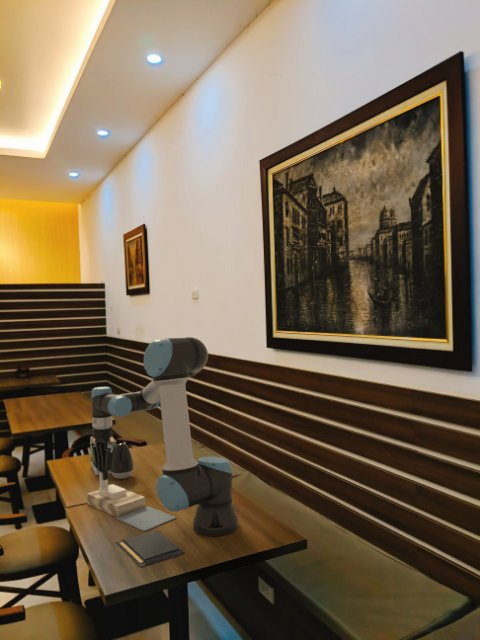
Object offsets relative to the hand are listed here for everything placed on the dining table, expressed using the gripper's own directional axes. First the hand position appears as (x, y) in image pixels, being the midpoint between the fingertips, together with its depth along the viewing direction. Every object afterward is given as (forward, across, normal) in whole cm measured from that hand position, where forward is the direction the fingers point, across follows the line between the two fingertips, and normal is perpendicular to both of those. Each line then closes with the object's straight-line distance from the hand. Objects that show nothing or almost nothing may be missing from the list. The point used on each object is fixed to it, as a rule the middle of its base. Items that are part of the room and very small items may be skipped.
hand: (103, 487), depth 196 cm
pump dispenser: (+5, -18, +21) cm, 28 cm away
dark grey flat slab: (+6, +45, -13) cm, 47 cm away
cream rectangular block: (+1, +6, 0) cm, 6 cm away
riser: (+5, +8, 0) cm, 10 cm away
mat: (+5, +26, 0) cm, 27 cm away
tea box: (+5, -34, +22) cm, 41 cm away
